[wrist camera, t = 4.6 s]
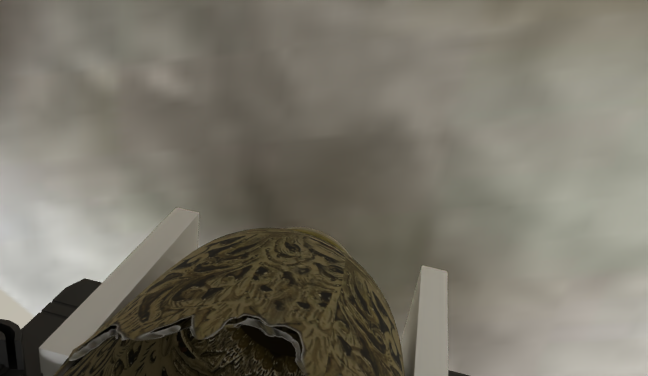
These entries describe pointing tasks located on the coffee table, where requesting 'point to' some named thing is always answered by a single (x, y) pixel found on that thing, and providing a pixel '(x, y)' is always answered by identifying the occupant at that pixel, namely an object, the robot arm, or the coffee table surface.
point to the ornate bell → (251, 315)
